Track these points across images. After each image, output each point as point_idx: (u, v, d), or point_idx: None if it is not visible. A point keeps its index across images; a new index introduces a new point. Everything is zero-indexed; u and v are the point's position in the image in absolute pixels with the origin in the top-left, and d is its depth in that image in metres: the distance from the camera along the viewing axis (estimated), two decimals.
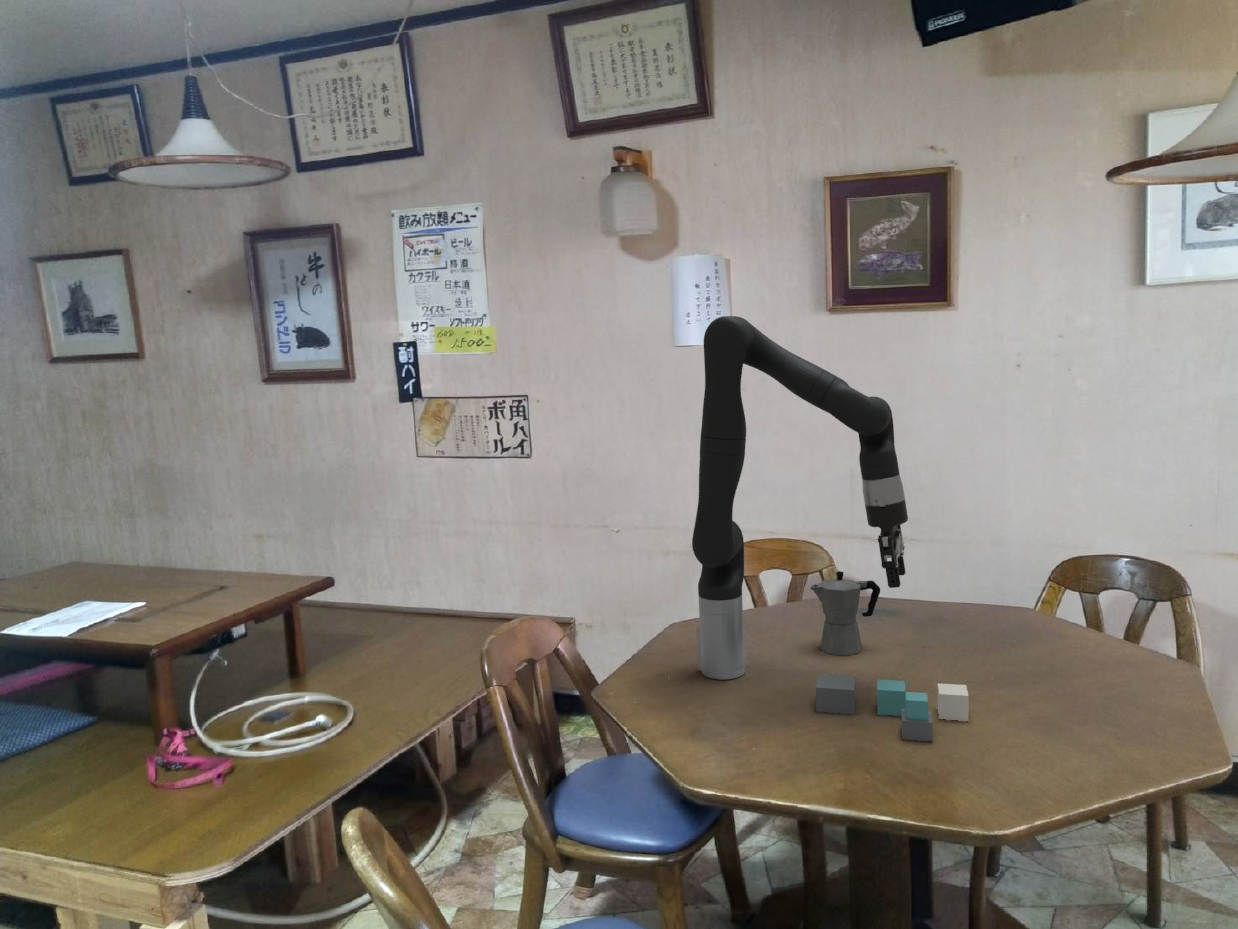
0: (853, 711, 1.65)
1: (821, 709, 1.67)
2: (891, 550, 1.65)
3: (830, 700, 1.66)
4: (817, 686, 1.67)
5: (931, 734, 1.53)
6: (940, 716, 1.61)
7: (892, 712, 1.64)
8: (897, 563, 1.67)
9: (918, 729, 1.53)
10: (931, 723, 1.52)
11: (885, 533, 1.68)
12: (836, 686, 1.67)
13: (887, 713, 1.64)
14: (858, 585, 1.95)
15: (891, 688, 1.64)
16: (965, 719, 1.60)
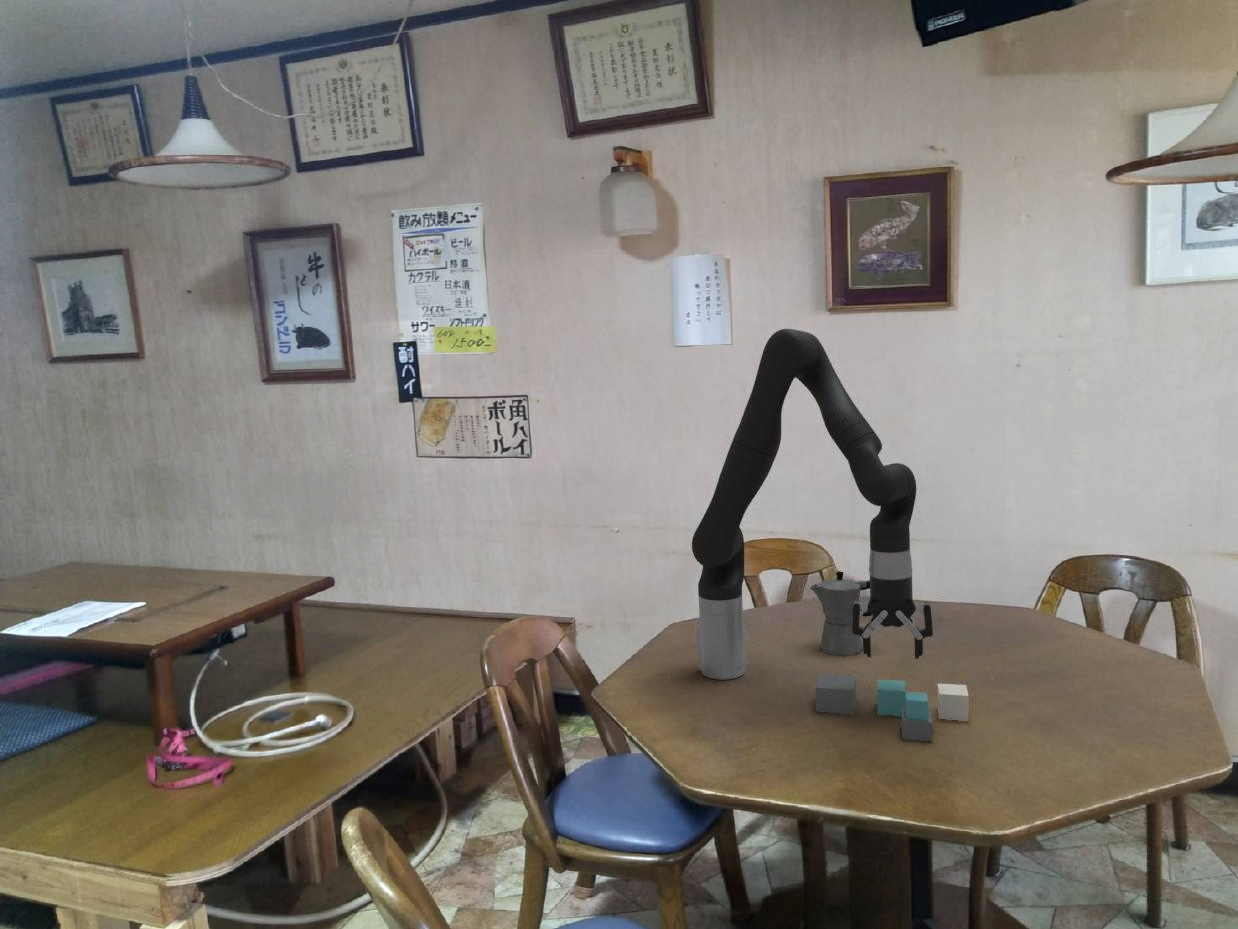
0: (853, 711, 1.65)
1: (821, 709, 1.67)
2: None
3: (829, 700, 1.66)
4: (817, 686, 1.67)
5: (931, 734, 1.53)
6: (940, 716, 1.61)
7: (892, 712, 1.64)
8: (865, 634, 1.64)
9: (918, 729, 1.53)
10: (931, 723, 1.52)
11: None
12: (836, 686, 1.67)
13: (887, 713, 1.64)
14: (858, 585, 1.95)
15: (891, 688, 1.64)
16: (965, 719, 1.60)
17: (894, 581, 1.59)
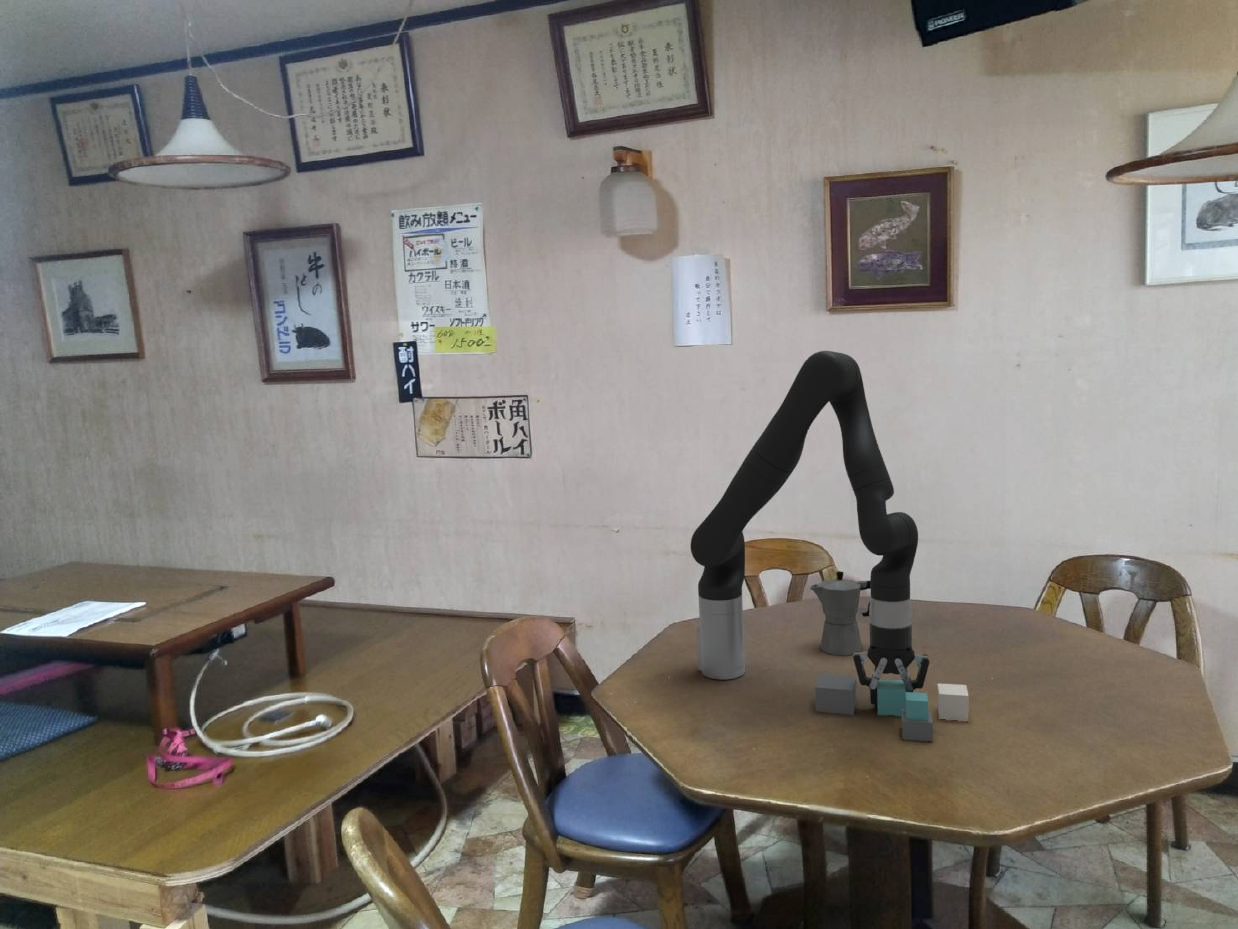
0: (852, 711, 1.65)
1: (820, 709, 1.67)
2: None
3: (829, 700, 1.66)
4: (816, 686, 1.67)
5: (931, 734, 1.53)
6: (940, 716, 1.61)
7: (892, 712, 1.64)
8: (872, 685, 1.65)
9: (918, 729, 1.53)
10: (931, 723, 1.52)
11: None
12: (836, 686, 1.67)
13: (887, 713, 1.64)
14: (858, 585, 1.95)
15: (891, 687, 1.64)
16: (965, 719, 1.60)
17: (894, 630, 1.60)
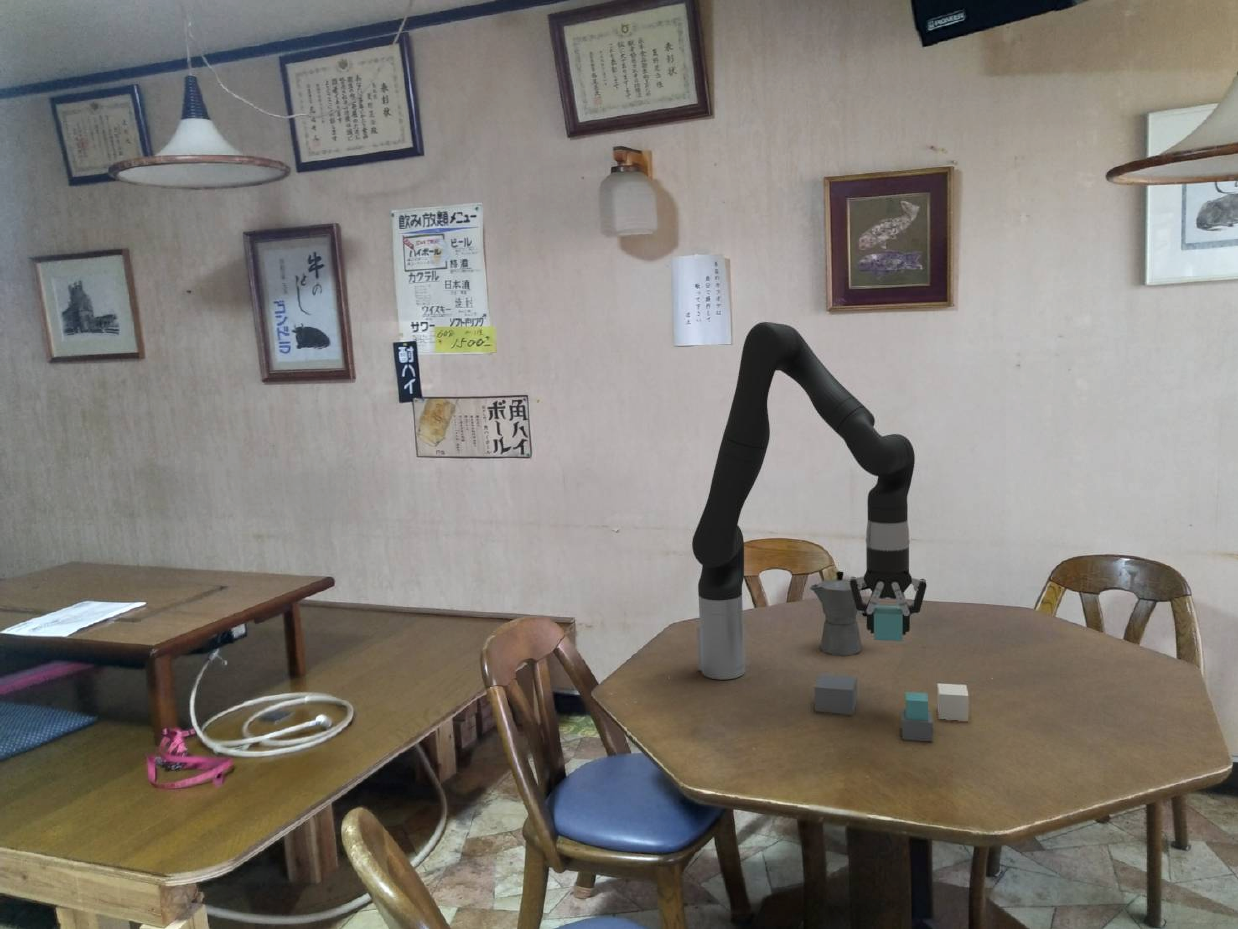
0: (852, 711, 1.65)
1: (820, 709, 1.67)
2: None
3: (828, 700, 1.66)
4: (816, 685, 1.67)
5: (931, 734, 1.53)
6: (940, 716, 1.61)
7: (889, 636, 1.62)
8: (868, 610, 1.63)
9: (918, 729, 1.53)
10: (931, 723, 1.52)
11: None
12: (835, 686, 1.67)
13: (884, 637, 1.62)
14: None
15: (888, 612, 1.62)
16: (965, 719, 1.60)
17: (891, 552, 1.58)
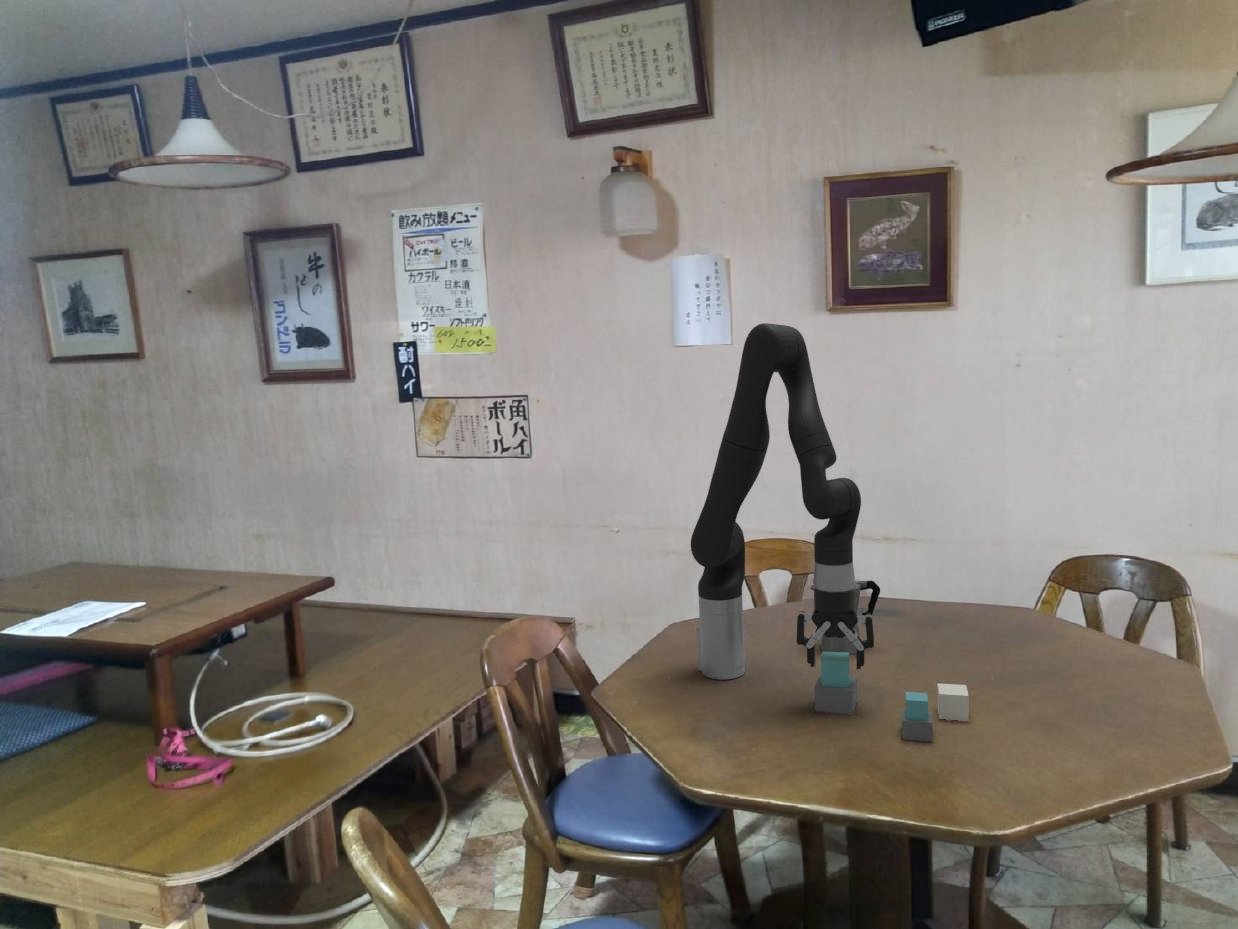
0: (851, 712, 1.65)
1: (820, 708, 1.67)
2: (797, 627, 1.69)
3: (828, 700, 1.66)
4: (816, 685, 1.67)
5: (931, 734, 1.53)
6: (940, 716, 1.61)
7: (836, 683, 1.66)
8: (809, 644, 1.68)
9: (918, 729, 1.53)
10: (931, 723, 1.52)
11: None
12: None
13: (831, 684, 1.67)
14: (858, 585, 1.95)
15: (835, 659, 1.67)
16: (965, 719, 1.60)
17: (836, 593, 1.63)
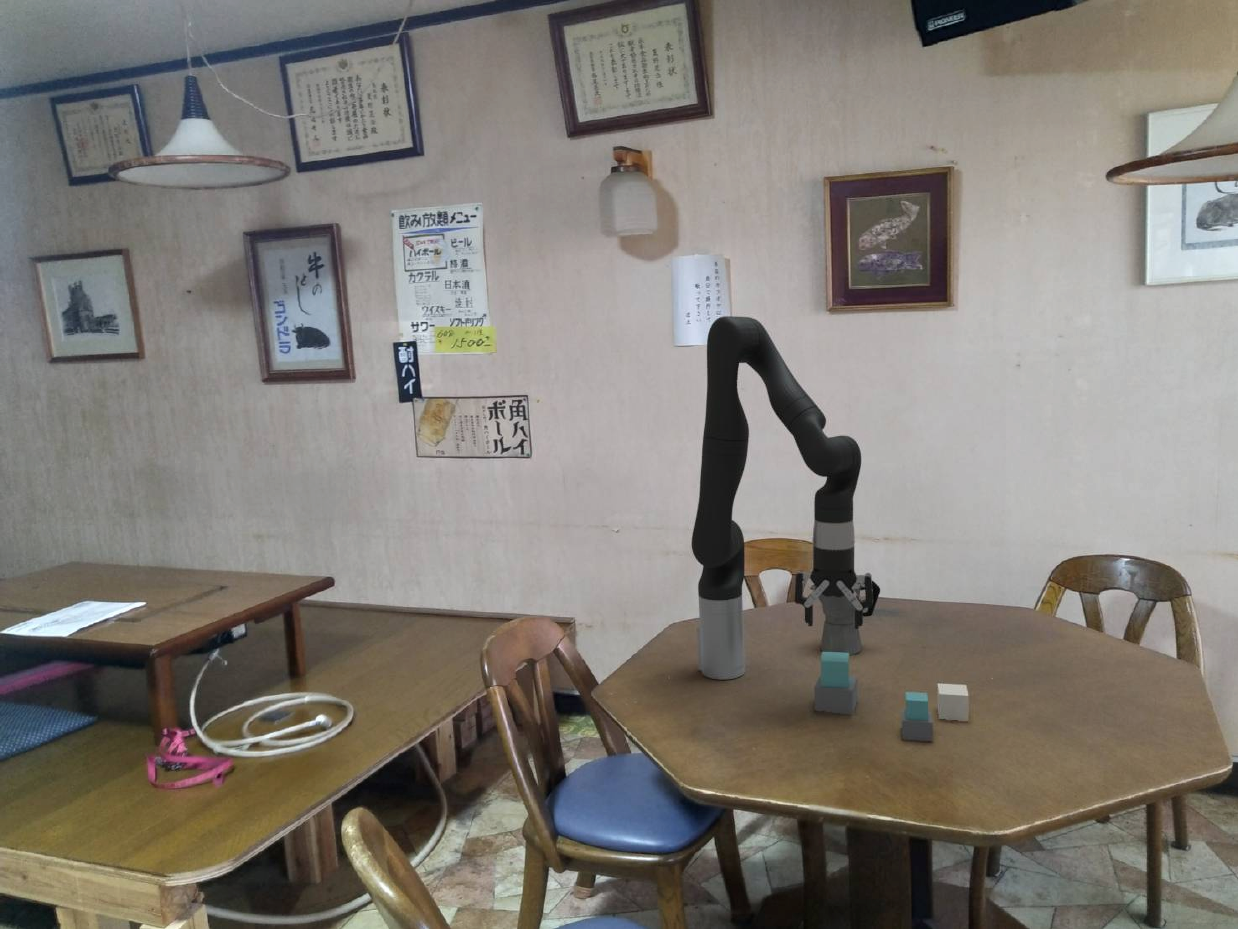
0: (851, 711, 1.65)
1: (820, 708, 1.67)
2: None
3: (828, 700, 1.66)
4: (816, 685, 1.68)
5: (931, 734, 1.53)
6: (940, 716, 1.61)
7: (835, 683, 1.66)
8: (807, 603, 1.67)
9: (918, 729, 1.53)
10: (931, 723, 1.52)
11: None
12: None
13: (831, 684, 1.67)
14: (858, 585, 1.95)
15: (834, 659, 1.67)
16: (965, 719, 1.60)
17: (835, 551, 1.61)
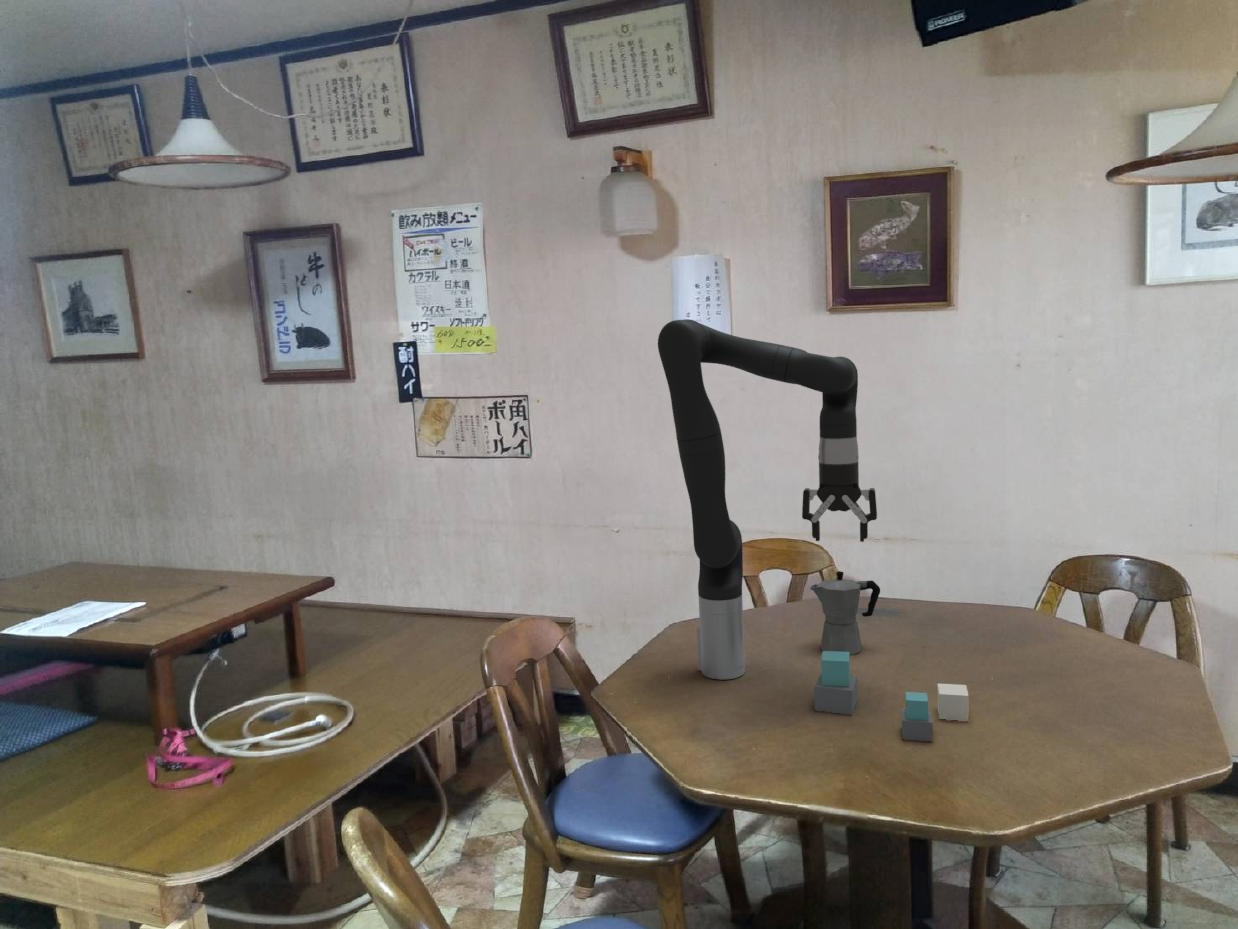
0: (851, 712, 1.65)
1: (819, 708, 1.67)
2: None
3: (828, 700, 1.66)
4: (816, 685, 1.68)
5: (931, 734, 1.53)
6: (940, 716, 1.61)
7: (836, 682, 1.67)
8: (814, 518, 1.74)
9: (918, 729, 1.53)
10: (931, 723, 1.52)
11: None
12: (835, 686, 1.67)
13: (831, 683, 1.67)
14: (858, 585, 1.95)
15: (835, 658, 1.67)
16: (965, 719, 1.60)
17: (840, 465, 1.69)
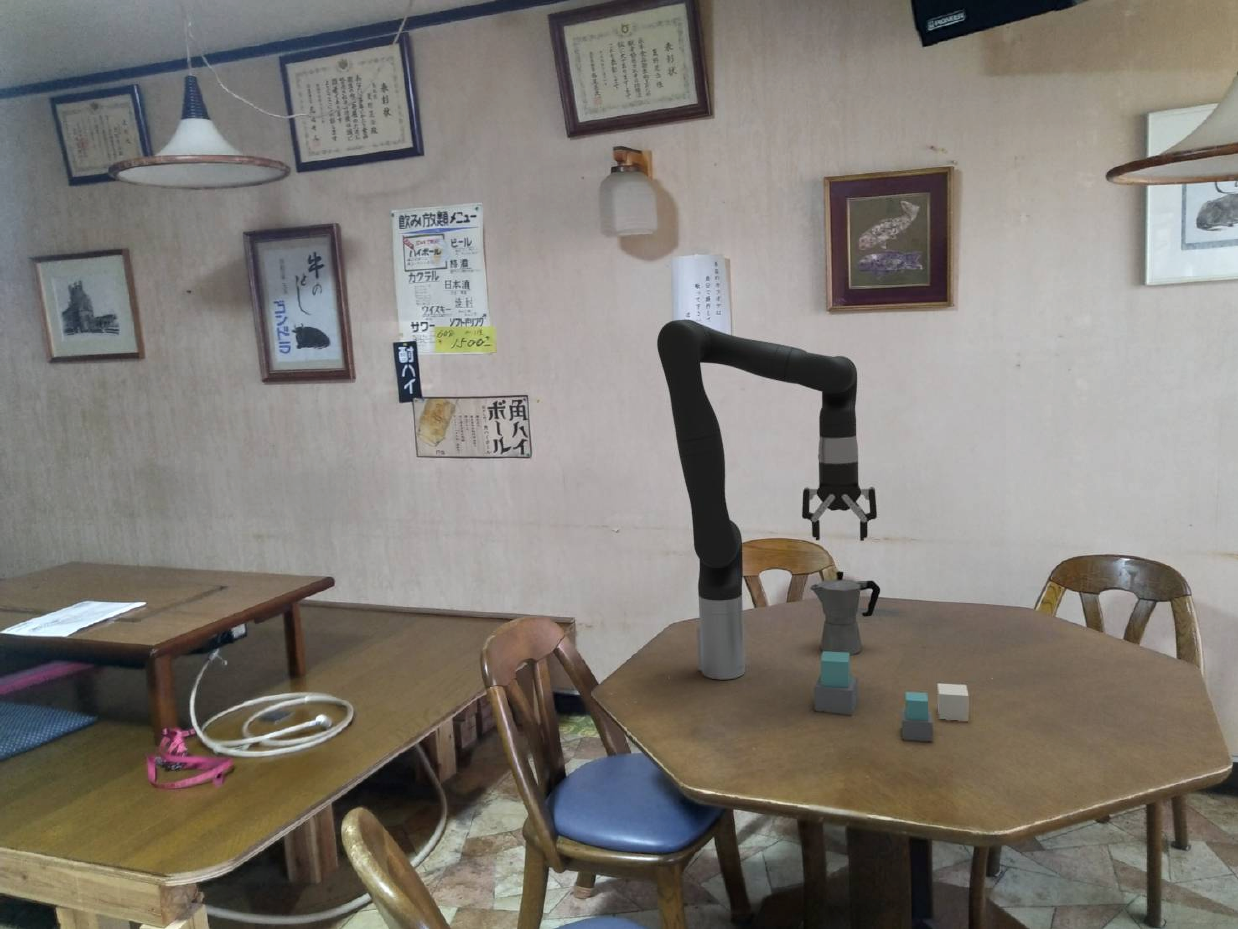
0: (851, 712, 1.65)
1: (819, 708, 1.67)
2: None
3: (828, 700, 1.66)
4: (816, 685, 1.68)
5: (931, 734, 1.53)
6: (940, 716, 1.61)
7: (835, 683, 1.66)
8: (814, 517, 1.75)
9: (918, 729, 1.53)
10: (931, 723, 1.52)
11: None
12: None
13: (830, 684, 1.67)
14: (858, 585, 1.95)
15: (834, 659, 1.67)
16: (965, 719, 1.60)
17: (840, 465, 1.69)
